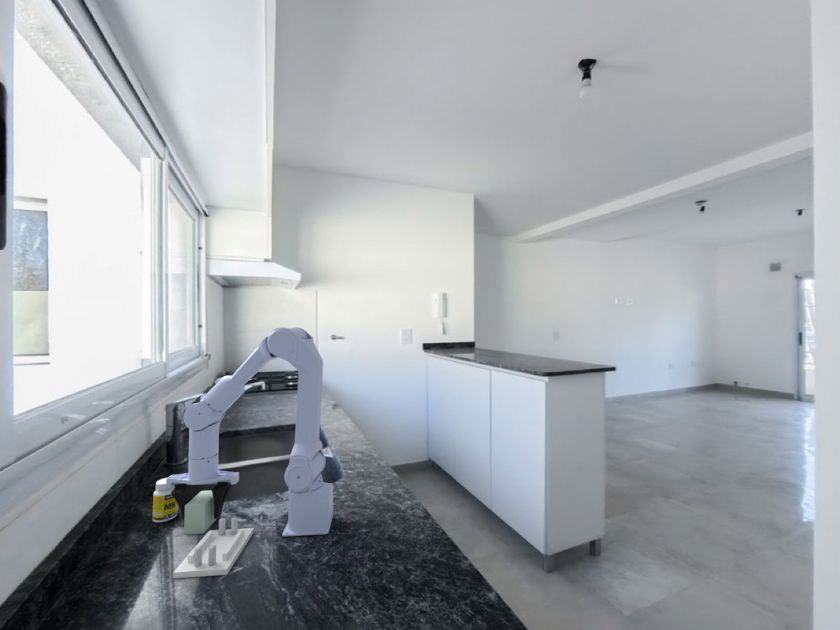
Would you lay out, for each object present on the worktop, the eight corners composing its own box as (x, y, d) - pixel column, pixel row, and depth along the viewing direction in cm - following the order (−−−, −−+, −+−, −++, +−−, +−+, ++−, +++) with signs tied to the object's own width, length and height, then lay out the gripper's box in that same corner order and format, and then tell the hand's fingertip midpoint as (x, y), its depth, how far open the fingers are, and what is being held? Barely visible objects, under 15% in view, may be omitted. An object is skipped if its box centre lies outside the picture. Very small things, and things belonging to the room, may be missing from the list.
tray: (253, 532, 76) (253, 513, 76) (226, 574, 63) (227, 551, 63) (209, 535, 75) (209, 515, 75) (172, 578, 62) (173, 554, 62)
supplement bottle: (164, 524, 79) (165, 486, 80) (147, 522, 80) (148, 484, 81) (182, 513, 84) (183, 477, 84) (166, 511, 85) (167, 475, 85)
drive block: (219, 516, 83) (219, 490, 83) (204, 533, 76) (204, 504, 76) (200, 517, 82) (201, 490, 83) (184, 534, 76) (184, 505, 76)
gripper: (244, 448, 84) (243, 506, 84) (179, 450, 83) (178, 509, 82) (232, 459, 77) (230, 522, 77) (160, 461, 76) (159, 526, 75)
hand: (202, 517), depth 79 cm, fingers open, 6 cm apart
